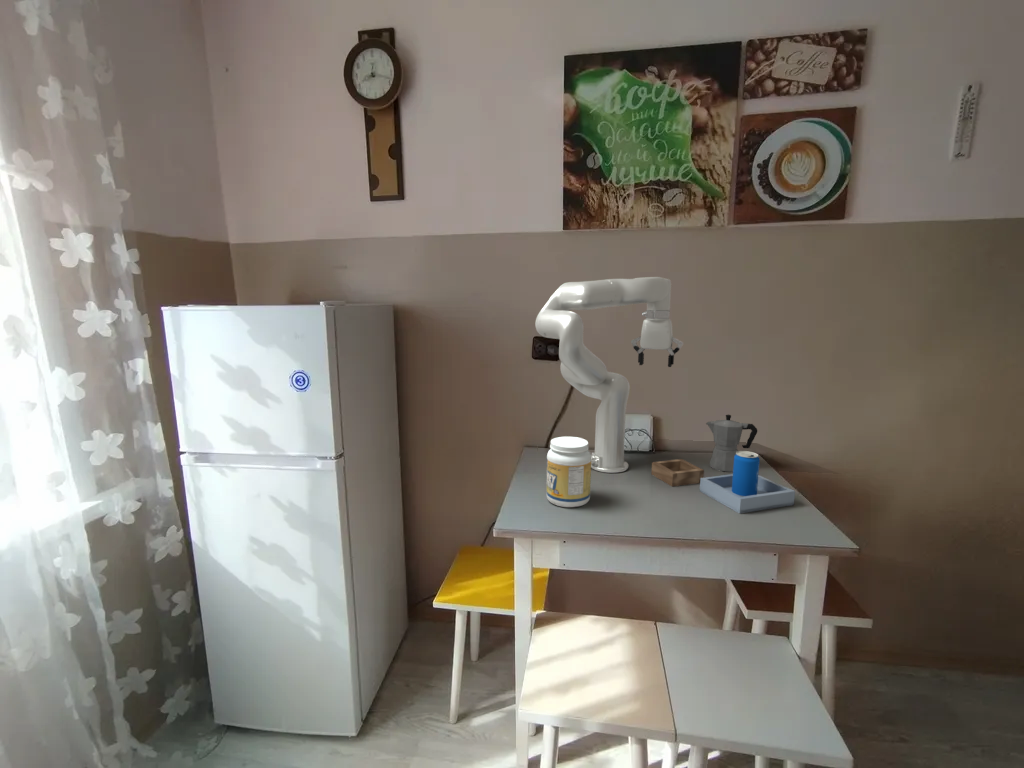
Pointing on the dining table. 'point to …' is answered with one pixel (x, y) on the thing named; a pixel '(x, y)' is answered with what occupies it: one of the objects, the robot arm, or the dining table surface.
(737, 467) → the beverage can
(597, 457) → the robot arm
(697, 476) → the brown wooden box
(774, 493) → the tray
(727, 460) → the coffeepot
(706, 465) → the dining table surface
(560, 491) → the supplement tub
